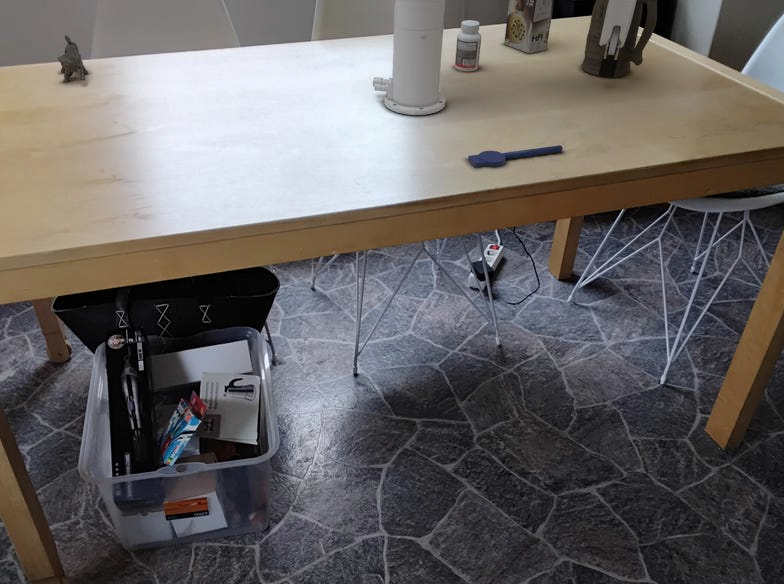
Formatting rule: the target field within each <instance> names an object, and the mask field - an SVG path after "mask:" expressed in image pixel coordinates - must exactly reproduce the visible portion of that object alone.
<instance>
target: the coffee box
mask: <svg viewBox="0 0 784 584" xmlns="http://www.w3.org/2000/svg"><path fill="white" fill-rule="evenodd" d="M554 4H555V0H508V8H507V17H506V25H505V34H504V41H503V45H504V46H508V47H510V48H514V49H515V50H518V51H521V52H524V53H526V54H533V53H538V52H542V51H546V50H547V48H548V42H549V35H550V29H551V24H552V18H553V11H554Z"/></svg>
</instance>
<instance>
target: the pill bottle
mask: <svg viewBox="0 0 784 584" xmlns="http://www.w3.org/2000/svg"><path fill="white" fill-rule="evenodd" d="M460 30H461V31H459V32H458V34H457V37H456V50H455V59H454V67H455V69H456V70H458V71H462V72H474V71H476V70H477V69H479V63H480V55H481V53H480V52H481V43H482V34H481V33H480V32H479V31H480V22H479V21H478V20H472V19H467V20H463V21H461V24H460Z"/></svg>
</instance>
